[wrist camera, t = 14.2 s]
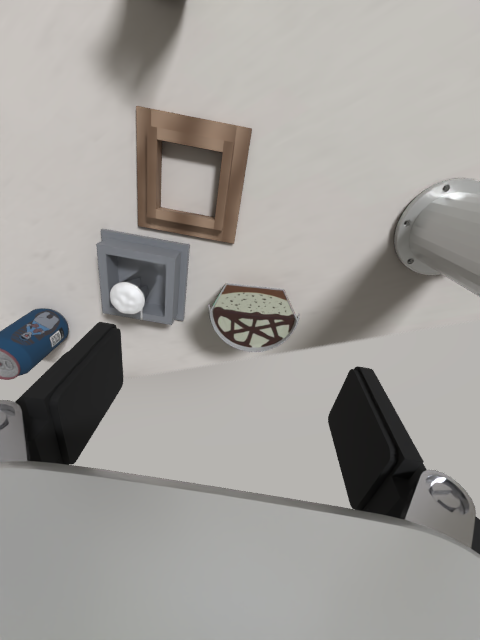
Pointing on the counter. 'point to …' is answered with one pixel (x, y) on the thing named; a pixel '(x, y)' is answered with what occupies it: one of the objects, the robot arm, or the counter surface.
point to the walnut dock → (196, 134)
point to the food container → (253, 317)
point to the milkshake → (134, 291)
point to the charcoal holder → (133, 255)
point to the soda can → (30, 341)
